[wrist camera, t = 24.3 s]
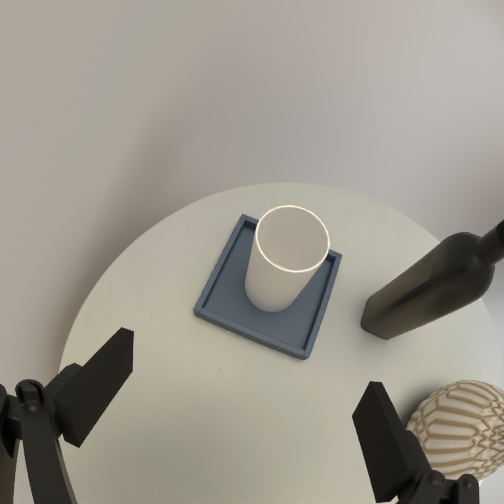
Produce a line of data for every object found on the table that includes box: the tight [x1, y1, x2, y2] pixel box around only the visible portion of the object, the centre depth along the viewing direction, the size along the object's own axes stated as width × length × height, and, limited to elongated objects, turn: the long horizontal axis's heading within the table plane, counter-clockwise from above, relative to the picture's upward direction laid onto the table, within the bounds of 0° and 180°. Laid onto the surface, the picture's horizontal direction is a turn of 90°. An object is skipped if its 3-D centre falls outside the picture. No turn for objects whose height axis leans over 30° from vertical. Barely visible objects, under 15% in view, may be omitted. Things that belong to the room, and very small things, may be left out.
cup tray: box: [194, 214, 342, 360], centre depth 41 cm, size 16×16×3 cm
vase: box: [406, 380, 504, 481], centre depth 24 cm, size 16×16×20 cm
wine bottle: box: [362, 220, 504, 339], centre depth 28 cm, size 6×6×30 cm
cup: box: [245, 205, 330, 312], centre depth 35 cm, size 7×7×14 cm
